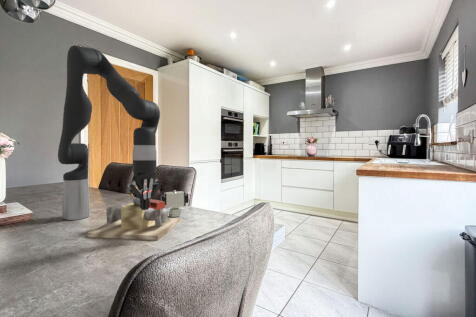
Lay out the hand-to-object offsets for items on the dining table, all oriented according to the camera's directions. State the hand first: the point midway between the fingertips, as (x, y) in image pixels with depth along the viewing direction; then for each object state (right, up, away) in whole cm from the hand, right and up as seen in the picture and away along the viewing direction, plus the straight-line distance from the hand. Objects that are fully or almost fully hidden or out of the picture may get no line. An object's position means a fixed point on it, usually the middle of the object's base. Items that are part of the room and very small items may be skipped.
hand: (144, 209), depth 81 cm
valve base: (-7, -10, +10) cm, 15 cm away
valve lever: (-1, 0, +5) cm, 5 cm away
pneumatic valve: (+3, -9, +27) cm, 29 cm away
